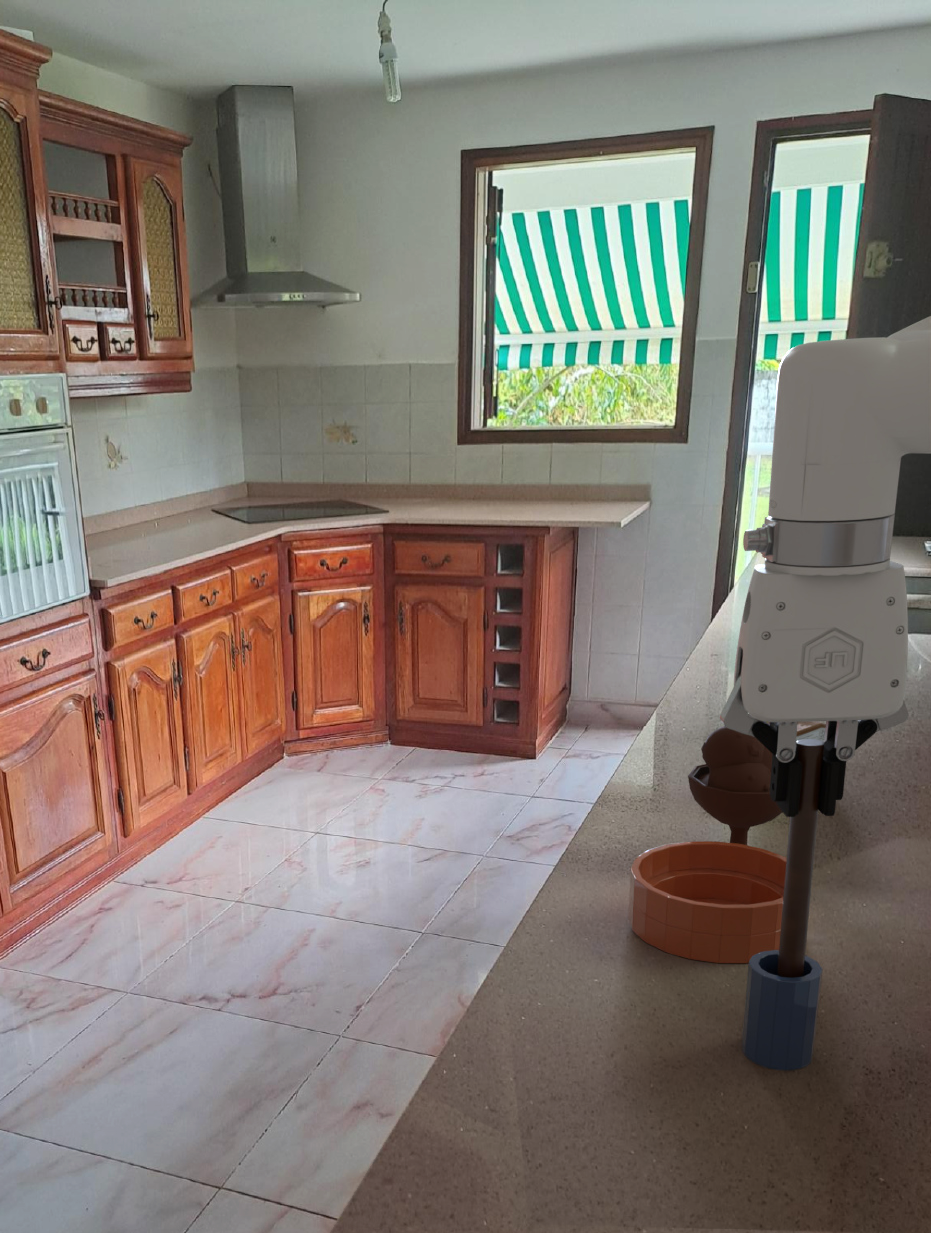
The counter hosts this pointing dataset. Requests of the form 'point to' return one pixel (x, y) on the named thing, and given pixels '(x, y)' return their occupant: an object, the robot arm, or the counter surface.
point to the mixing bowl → (708, 900)
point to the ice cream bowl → (735, 782)
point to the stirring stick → (800, 862)
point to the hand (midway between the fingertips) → (804, 808)
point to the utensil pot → (780, 1013)
